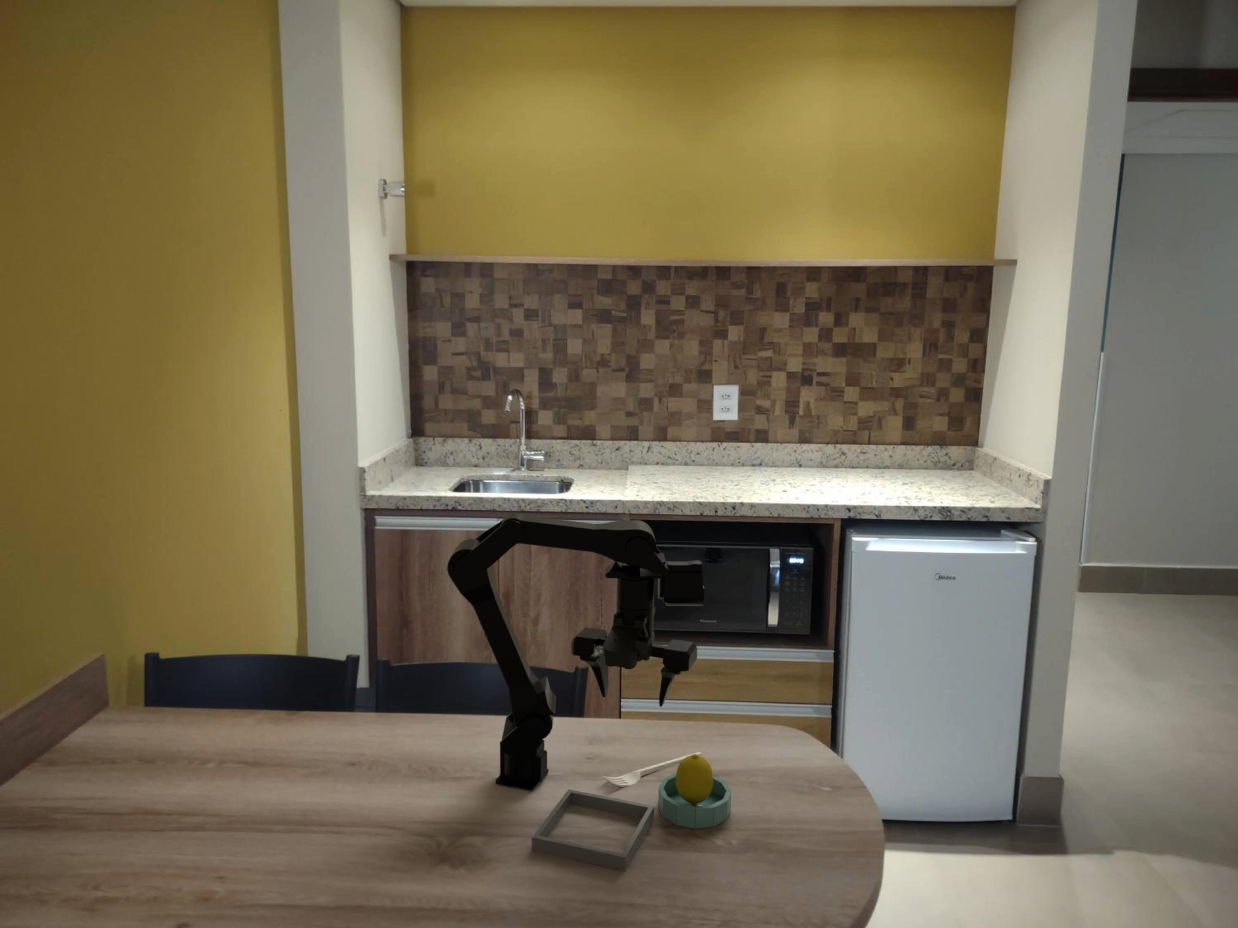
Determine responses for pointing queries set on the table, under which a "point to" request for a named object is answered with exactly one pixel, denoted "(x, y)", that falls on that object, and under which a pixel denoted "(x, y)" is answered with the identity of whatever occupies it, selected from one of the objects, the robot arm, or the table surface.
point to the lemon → (694, 779)
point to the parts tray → (586, 852)
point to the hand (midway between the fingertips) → (632, 700)
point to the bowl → (694, 815)
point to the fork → (642, 772)
